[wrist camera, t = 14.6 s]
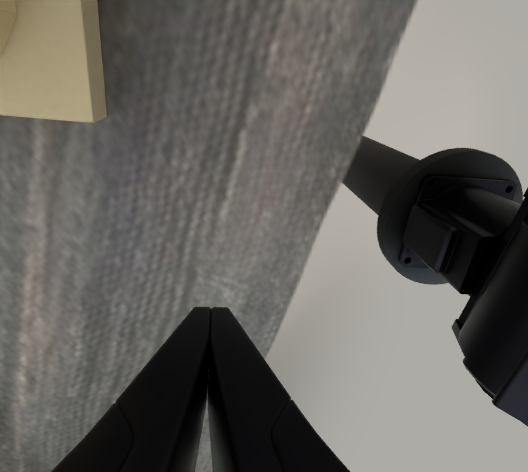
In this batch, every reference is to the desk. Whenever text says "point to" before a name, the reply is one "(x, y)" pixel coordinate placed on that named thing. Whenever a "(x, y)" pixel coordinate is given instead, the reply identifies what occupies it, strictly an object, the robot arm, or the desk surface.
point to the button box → (51, 60)
